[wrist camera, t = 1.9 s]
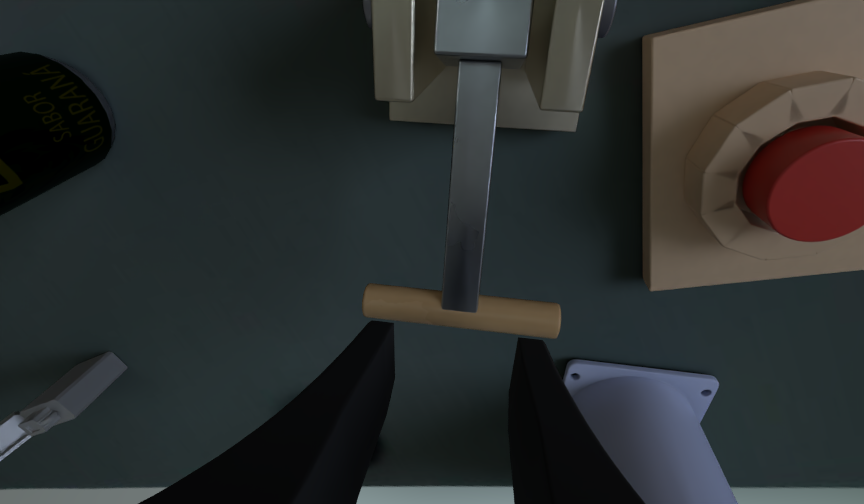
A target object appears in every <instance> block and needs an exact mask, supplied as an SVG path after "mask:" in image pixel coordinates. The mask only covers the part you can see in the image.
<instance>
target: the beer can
mask: <svg viewBox="0 0 864 504" xmlns="http://www.w3.org/2000/svg"><path fill="white" fill-rule="evenodd" d="M115 126H116V124H115V121H114V117H113V114H112V110H111V108H110V106H109V105H108V103H107V101H106V99H105V98H104V96H103V94H102V93H101V92H100V91H99V90H98V89H97V87H96V86H95V85H94V84H93V83H92V82H91V81H90V80H89V79H88V78H87V77H85V76H84V75H83V74H81V73H80V72H79V71H77V70H76V69H74V68H73V67H71V66H69V65H67V64H65V63H62V62H60V61H58V60H55V59H52V58H49V57H46V56H43V55H39V54H32V53H25V52H15V53H10V54H4V55H0V216H1V215H3V214H5V213H7V212H8V211H10V210H12V209H14V208H16V207H18V206H20V205H22V204H23V203H25V202H27V201H29V200H31V199H33V198H35V197H37V196H38V195H40V194H42V193H44V192H46V191H48V190H50V189H52V188H53V187H55V186H57V185H59V184H61V183H63V182H65V181H66V180H68V179H70V178H72V177H74V176H76V175H78V174H80V173H81V172H83V171H85V170H87V169H89V168H91V167H93V166H94V165H96V164H97V163H99V162H100V161H102V160H103V159H105V158H106V156H107V154H108V152H109V150H110V148H111V146H112V144H113V141H114V139H115Z"/></svg>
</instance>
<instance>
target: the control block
mask: <svg viewBox="0 0 864 504" xmlns="http://www.w3.org/2000/svg"><path fill="white" fill-rule="evenodd" d="M642 114H643V279H644V281H645V283H646V285H647V287H648V289H649V291H659V290H669V289H679V288H689V287H699V286H709V285H718V284H728V283H738V282H748V281H758V280H767V279H777V278H787V277H797V276H807V275H817V274H826V273H836V272H846V271H856V270H864V225H863V226H862V227H860V228H859V229H857V230H855V231H853V232H851V233H849V234H846V235H844V236H841V237H838V238H835V239H831V240H827V241H821V242H802V241H796V240H792V239H789V238H786V237H784V236H782V235H780V234H779V233H777V232H776V231H775V230H774V229H772V228H771V227H770V226H769V225H767V224H766V223H765V222H764V221H763V220H761V219H760V218H759V217H758V216H756V215H755V214H754V213H753V212H752V211H751V210H750V209H749V208H748V207H747V205H746V203H745V201H744V198H743V191H742V190H743V180H744V177H745V174H746V171H747V169H748V167H749V165H750V164H751V162H752V161H753V159H754V158H755V157H756V156H757V155H758V154H759V153H760V151H761V150H762V149H764V148H765V147H766V146H767V145H768V144H770V143H771V142H773V141H774V140H775V139H777V138H779V137H781V136H782V135H784V134H787V133H789V132H791V131H794V130H797V129H800V128H805V127H809V126H832V127H836V128H840V129H843V130H845V131H848V132H851V133H854V134H857V135H860V136H863V137H864V0H795V1H791V2H787V3H782V4H778V5H774V6H769V7H765V8H761V9H757V10H752V11H748V12H744V13H739V14H735V15H731V16H726V17H722V18H718V19H714V20H709V21H705V22H701V23H696V24H692V25H688V26H683V27H679V28H675V29H671V30H666V31H662V32H658V33H653V34H649V35H645V36H644V37H643V39H642Z"/></svg>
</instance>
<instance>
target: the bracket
mask: <svg viewBox="0 0 864 504" xmlns="http://www.w3.org/2000/svg"><path fill="white" fill-rule="evenodd" d="M362 1H363V10H364V15H365V19H366V22H367V25H368V26H369V27H370V28H371V29H372V47H373V74H374V97H375V99H376V100H378V101H389V118H390V120H391V121H407V122H423V123H439V124H454V118H455V104H456V90H457V76H458V66H446V65H444V64H443V63H442V62H441V60H440V59H439V58H438V57H437V56H436V55H435V53H434V37H435V19H436V0H362ZM617 1H618V0H534V6H533V15H532V23H531V32H530V40H529V49H528V56H527V58H526V59H525V61H524V63H523V65H522V66H521V68H520V69H502V73H501V83H500V93H499V103H498V113H497V123H496V127H502V128H518V129H534V130H550V131H566V132H575V131H576V128H577V123H578V117H579V113H580V112H582V111H583V107H584V102H585V97H586V92H587V87H588V82H589V77H590V72H591V67H592V62H593V57H594V52H595V47H596V42H597V38H603V37H605V36H606V34H607V33H608V31H609V29H610V26H611V24H612V21H613V18H614V14H615V10H616V6H617Z"/></svg>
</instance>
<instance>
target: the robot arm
mask: <svg viewBox="0 0 864 504" xmlns="http://www.w3.org/2000/svg"><path fill="white" fill-rule="evenodd" d="M573 373H577V374H576V375H572V374H573ZM394 380H395V361H394V323H389V322H381V321H370V322H369V323H368V324H367V325H366V326H365V327H364V328H363V330H362V331H361V332H360V333H359V334H358V335H357V336H356V338H355V339H354V340H353V341H352V342H351V343H350V344H349V345H348V346H347V348H346V349H345V350H344V351H343V352H342V353H341V354H340V355H339V356H338V357H337V358H336V359H335V360H334V361H333V362H332V363H331V364H330V365H329V366H328V367H327V368H326V369H325V370H324V371H323V372H322V373H321V374H320V375H319V376H318V377H317V378H316V379H315V380H314V381H313V382H312V383H311V384H310V385H309V386H308V387H306V388H305V389H304V390H303V391H302V392H301V393H300V394H299V395H298V396H297V397H296V398H294V399H293V400H292V401H291V402H290V403H289V404H287V405H286V406H285V407H284V408H283V409H282V410H280V411H279V412H278V413H277V414H275V415H274V416H273V417H272V418H270V419H269V420H268V421H267V422H265V423H264V424H263V425H261V426H260V427H259V428H258V429H256V430H255V431H253V432H252V433H251V434H249V435H248V436H246V437H245V438H244V439H242V440H241V441H240V442H238V443H237V444H235V445H234V446H233V447H231V448H230V449H228V450H227V451H225V452H224V453H222V454H221V455H219V456H218V457H216V458H215V459H213V460H212V461H210V462H208V463H207V464H205V465H204V466H202V467H200V468H199V469H197V470H195V471H194V472H192V473H191V474H189V475H187V476H186V477H184V478H183V479H181V480H179V481H178V482H176V483H174V484H173V485H171V486H169V487H168V488H166V489H164V490H163V491H161V492H159V493H157V494H155V495H154V496H152V497H150V498H148V499H146V500H144V501H143V502H140V503H139V504H356V502H357V499H358V495H359V492H360V489H361V487H362V484H363V481H364V478H365V475H366V472H367V470H368V467H369V464H370V461H371V458H372V455H373V452H374V449H375V447H376V444H377V441H378V438H379V435H380V432H381V429H382V426H383V423H384V421H385V418H386V415H387V411H388V406H389V402H390V398H391V393H392V389H393V384H394ZM718 387H719V383H718V381H717V379H716V378H715V377H714V376H711V375H705V374H696V373H688V372H680V371H671V370H663V369H655V368H646V367H638V366H629V365H621V364H613V363H604V362H596V361H588V360H579V359H574V360H571V361H569V362H568V363H567V366H566V370H565V374H564V377H563V380H562V378H561V376H560V374H559V372H558V370H557V368H556V366H555V364H554V362H553V360H552V358H551V355H550V353H549V351H548V348H547V346H546V344H545V343H544V342H543V340H536V339H527V338H519V337H518V342H517V348H516V354H515V360H514V366H513V371H512V377H511V383H510V389H509V408H508V434H509V446H510V458H511V469H512V480H513V490H514V502H515V504H738V503H737V501H736V499H735V497H734V495H733V492H732V490H731V488H730V486H729V484H728V482H727V480H726V478H725V476H724V474H723V472H722V470H721V467H720V465H719V463H718V461H717V459H716V457H715V455H714V453H713V451H712V449H711V447H710V445H709V442H708V440H707V438H706V436H705V434H704V432H703V430H702V428H701V426H700V422H701V420H702V418H703V416H704V414H705V412H706V410H707V408H708V407H709V405H710V403H711V401H712V399H713V397H714V395H715V393H716V391H717V389H718ZM703 390H704V391H703Z"/></svg>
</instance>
